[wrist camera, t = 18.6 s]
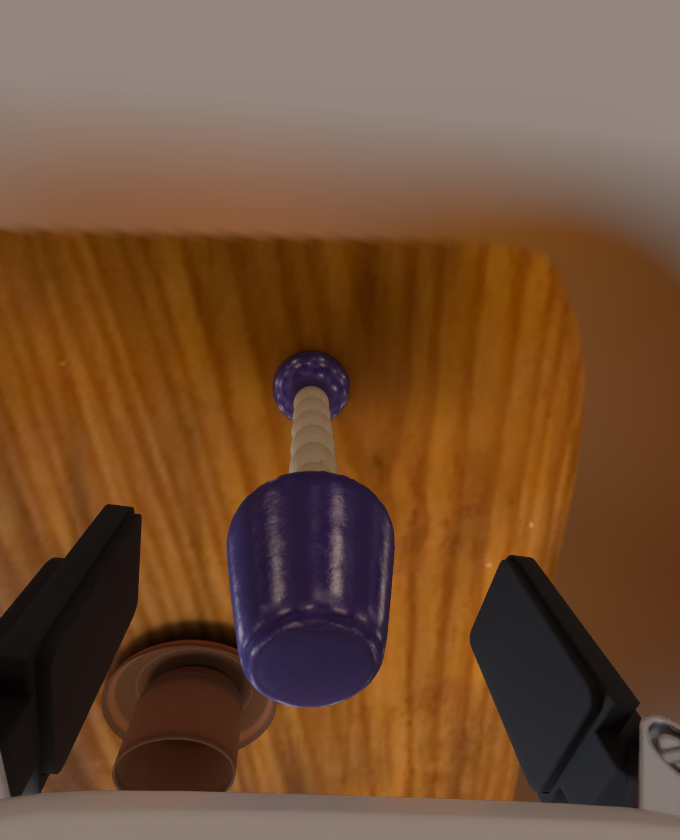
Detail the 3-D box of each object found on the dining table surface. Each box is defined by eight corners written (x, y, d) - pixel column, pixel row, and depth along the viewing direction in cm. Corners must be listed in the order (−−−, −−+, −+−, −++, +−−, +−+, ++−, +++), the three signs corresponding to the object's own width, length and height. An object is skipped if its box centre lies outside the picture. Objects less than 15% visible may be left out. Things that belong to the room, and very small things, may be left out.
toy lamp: (339, 435, 25) (401, 742, 10) (260, 425, 24) (190, 737, 9) (355, 356, 23) (461, 578, 8) (270, 343, 23) (204, 557, 7)
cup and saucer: (286, 721, 34) (283, 816, 29) (136, 741, 34) (102, 841, 28) (266, 612, 30) (258, 699, 24) (91, 633, 29) (41, 727, 23)
